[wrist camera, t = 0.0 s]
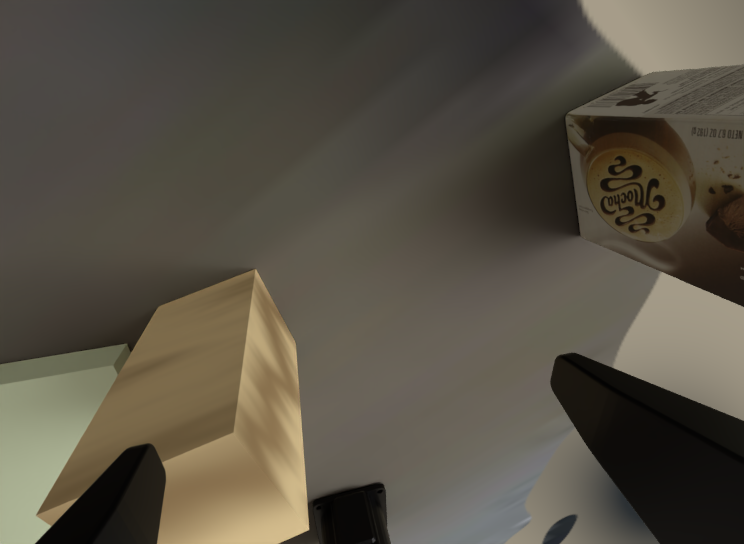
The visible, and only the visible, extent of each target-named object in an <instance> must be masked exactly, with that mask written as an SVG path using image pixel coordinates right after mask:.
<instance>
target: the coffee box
mask: <svg viewBox="0 0 744 544" xmlns="http://www.w3.org/2000/svg"><path fill="white" fill-rule="evenodd" d="M565 120H566V129H567V136H568V144H569V152H570V159H571V167H572V174H573V182H574V189H575V197H576V204H577V211H578V219H579V227H580V234H581V237H582V238H584V239H586V240H588V241H591V242H593V243H596V244H598V245H600V246H603V247H605V248H608V249H610V250H612V251H615V252H617V253H619V254H622V255H624V256H626V257H629V258H631V259H633V260H635V261H638V262H641V263H642V264H645V265H647V266H649V267H652V268H654V269H656V270H659V271H661V272H664V273H666V274H668V275H671V276H673V277H676V278H678V279H680V280H682V281H684V282H686V283H689V284H691V285H693V286H696V287H698V288H701V289H703V290H706V291H708V292H710V293H713V294H714V295H717V296H720V297H722V298H724V299H726V300H729V301H731V302H734V303H736V304H738V305H741V306H743V307H744V64H742V65H734V66H721V67H711V68H701V69H686V70H674V71H662V72H652V73H649V74H647V75H645V76H643V77H641V78H639V79H637V80H634V81H632V82H630V83H628V84H626V85H624V86H622V87H620V88H618V89H616V90H614V91H611V92H609V93H607V94H605V95H603V96H601V97H599V98H597V99H595V100H593V101H591V102H589V103H587V104H584V105H582V106H580V107H578V108H576V109H574V110H572V111H570V112H568V113H567V115H566V117H565Z"/></svg>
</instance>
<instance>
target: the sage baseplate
mask: <svg viewBox="0 0 744 544" xmlns="http://www.w3.org/2000/svg"><path fill="white" fill-rule="evenodd" d="M130 354H131V352H130V350H129V347H128V345H127V344H121V345H115V346H109V347H103V348H97V349H91V350H85V351H79V352H72V353H66V354H60V355H54V356H48V357H42V358H36V359H30V360H23V361H17V362H11V363H5V364H0V544H35V543H36V542H37V541H38V540H39V539H40V538H41V537H42V536H43V535H44V533H45V532H46V531H47V530H48V529H49V528H50V527H51V526H50V525H49V524H47V523H46V522H44V521H43V520H41V519H40V518H38V517H37V516H36V514H37V512H38V511H39V509H40V507H41V505H42V504H43V502H44V500H45V499H46V497H47V495H48V494H49V492H50V490H51V488H52V487H53V485H54V483H55V482H56V480H57V478H58V477H59V475H60V473H61V471H62V470H63V468H64V466H65V465H66V463H67V461H68V460H69V458H70V456H71V454H72V453H73V451H74V449H75V448H76V446H77V444H78V442H79V441H80V439H81V437H82V436H83V434H84V432H85V431H86V429H87V427H88V425H89V424H90V422H91V420H92V419H93V417H94V415H95V414H96V412H97V410H98V408H99V407H100V405H101V403H102V402H103V400H104V398H105V397H106V395H107V393H108V391H109V390H110V388H111V386H112V385H113V383H114V381H115V379H116V378H117V376H118V374H119V373H120V371H121V369H122V368H123V366H124V364H125V362H126V361H127V359H128V357H129V356H130Z"/></svg>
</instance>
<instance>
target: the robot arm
mask: <svg viewBox="0 0 744 544" xmlns="http://www.w3.org/2000/svg"><path fill="white" fill-rule="evenodd" d="M550 383H551V388H552V390H553V392H554V394H555V395H556V397H557V399H558V400H559V402H560V403H561V405H562V407H563V408H564V410H565V412H566V413H567V415H568V416H569V418H570V420H571V421H572V423H573V424H574V426H575V428H576V429H577V431H578V432H579V434H580V436H581V437H582V439H583V440H584V442H585V443H586V445H587V446H588V448H589V449H590V451H591V452H592V454H593V455H594V456H595V458H596V459H597V460H598V462H599V463H600V465H601V466H602V467H603V469H604V470H605V471H606V472H607V474H608V475H609V477H610V478H611V479H612V481H613V482H614V483H615V485H616V486H617V487H618V489H619V490H620V491H621V493H622V494H623V495H624V497H625V498H626V499H627V501H628V502H629V503H630V504H631V506H632V507H633V509H634V510H635V511H636V512H637V514H638V515H639V516H640V518H641V519H642V520H643V522H644V523H645V525H646V526H647V527H648V529H649V530H650V531H651V532H652V534H653V535H654V537H655V538H656V539H657V541H658V542H659V543H660V544H744V421H742V420H740V419H738V418H735V417H733V416H730V415H728V414H725V413H723V412H720V411H718V410H715V409H713V408H710V407H708V406H705V405H703V404H701V403H698V402H696V401H693V400H690V399H688V398H686V397H683V396H681V395H678V394H676V393H673V392H671V391H668V390H666V389H663V388H661V387H658V386H656V385H654V384H651V383H649V382H646V381H644V380H641V379H638V378H636V377H634V376H631V375H628V374H626V373H624V372H621V371H619V370H616V369H614V368H612V367H609V366H607V365H604V364H602V363H599V362H597V361H594V360H592V359H589V358H587V357H584V356H582V355H579V354H577V353H567V354H563V355H559V356H557V358H556V359H555V363H554V367H553V371H552V376H551V381H550ZM165 485H166V471H165V468H164V466H163V464H162V461H161V459H160V457H159V455H158V453H157V451H156V448H155V447H154V445H153V444H151V443H146V444H141V445H136V446H132V447H129V448H127V449H126V450H124V451H123V452H122V453H121V454H120V455H119V456H118V457H117V459H116V460H115V461H114V462H113V463H112V464H111V465H110V466H109V467H108V468H107V469H106V470H105V471H104V472H103V473H102V474H101V475H100V476H99V477H98V478H97V479H96V480H95V481H94V482H93V483H92V485H91V486H90V487H89V488H88V489H87V490H86V491H85V492H84V493H83V494H82V495H81V496H80V497H79V498H78V499H77V500H76V501H75V502H74V503H73V504H72V505H71V506H70V507H69V508H68V510H67V511H66V512H65V513H64V514H63V515H62V516H61V517H60V518H59V519H58V520H57V521H56V522H55V523H54V524H53V525H52V526H51V527H50V528H49V529H48V530H47V531H46V532H45V533H44V535H43V536H42V537H41V538H40V539H39V540H38V541H37V542H36V543H35V544H157V541H158V534H159V527H160V520H161V513H162V506H163V499H164V492H165ZM313 512H314V517H315V522H316V527H317V532H318V537H319V543H320V544H391V542H390V538H389V534H388V530H387V512H386V492H385V487H384V485H383V484H376V485H373V486H369V487H365V488H361V489H357V490H354V491H350V492H346V493H342V494H338V495H334V496H331V497H327V498H323V499H319V500H316V501H314V502H313Z"/></svg>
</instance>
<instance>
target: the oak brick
mask: <svg viewBox="0 0 744 544" xmlns="http://www.w3.org/2000/svg"><path fill="white" fill-rule="evenodd" d="M146 443H151V444H153V445H154V447H155V448H156V451H157V453H158V455H159V457H160V459H161V461H162V464H163V466H164V468H165V471H166V485H165V492H164V499H163V506H162V513H161V520H160V527H159V534H158V541H157V544H279V543H281V542H283V541H286V540H288V539H290V538H292V537H294V536H297V535H299V534H301V533H303V532H306V531H308V530H309V519H308V506H307V492H306V478H305V464H304V451H303V437H302V423H301V409H300V396H299V382H298V368H297V354H296V343H295V341H294V339H293V337H292V335H291V333H290V331H289V330H288V328H287V326H286V324H285V322H284V320H283V318H282V317H281V315H280V313H279V311H278V309H277V307H276V306H275V304H274V302H273V300H272V298H271V296H270V294H269V293H268V291H267V289H266V287H265V285H264V283H263V281H262V280H261V278H260V276H259V274H258V272H257V270H256V269H254V270H251V271H249V272H246V273H243V274H241V275H238V276H236V277H233V278H231V279H228V280H225V281H223V282H220V283H218V284H215V285H213V286H210V287H207V288H205V289H202V290H200V291H197V292H195V293H192V294H189V295H187V296H184V297H182V298H179V299H177V300H174V301H171V302H169V303H166V304H164V305H161V306H159V307H158V308H157V310H156V311H155V313H154V315H153V316H152V318H151V320H150V322H149V323H148V325H147V327H146V328H145V330H144V332H143V334H142V335H141V337H140V339H139V340H138V342H137V344H136V345H135V347H134V349H133V351H132V352H131V354H130V356H129V357H128V359H127V361H126V362H125V364H124V366H123V368H122V369H121V371H120V373H119V374H118V376H117V378H116V379H115V381H114V383H113V385H112V386H111V388H110V390H109V391H108V393H107V395H106V397H105V398H104V400H103V402H102V403H101V405H100V407H99V408H98V410H97V412H96V414H95V415H94V417H93V419H92V420H91V422H90V424H89V425H88V427H87V429H86V431H85V432H84V434H83V436H82V437H81V439H80V441H79V442H78V444H77V446H76V448H75V449H74V451H73V453H72V454H71V456H70V458H69V460H68V461H67V463H66V465H65V466H64V468H63V470H62V471H61V473H60V475H59V477H58V478H57V480H56V482H55V483H54V485H53V487H52V488H51V490H50V492H49V494H48V495H47V497H46V499H45V500H44V502H43V504H42V505H41V507H40V509H39V511H38V512H37V514H36V516H37V517H38V518H40V519H41V520H43V521H44V522H46V523H47V524H49V525H50V526H52V525H53V524H54V523H55V522H56V521H57V520H58V519H59V518H60V517H61V516H62V515H63V514H64V513H65V512H66V511H67V510H68V508H69V507H70V506H71V505H72V504H73V503H74V502H75V501H76V500H77V499H78V498H79V497H80V496H81V495H82V494H83V493H84V492H85V491H86V490H87V489H88V488H89V487H90V486H91V485H92V483H93V482H94V481H95V480H96V479H97V478H98V477H99V476H100V475H101V474H102V473H103V472H104V471H105V470H106V469H107V468H108V467H109V466H110V465H111V464H112V463H113V462H114V461H115V460H116V459H117V457H118V456H119V455H120V454H121V453H122V452H123V451H124V450H126V449H127V448H129V447H132V446H136V445H141V444H146Z"/></svg>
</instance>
